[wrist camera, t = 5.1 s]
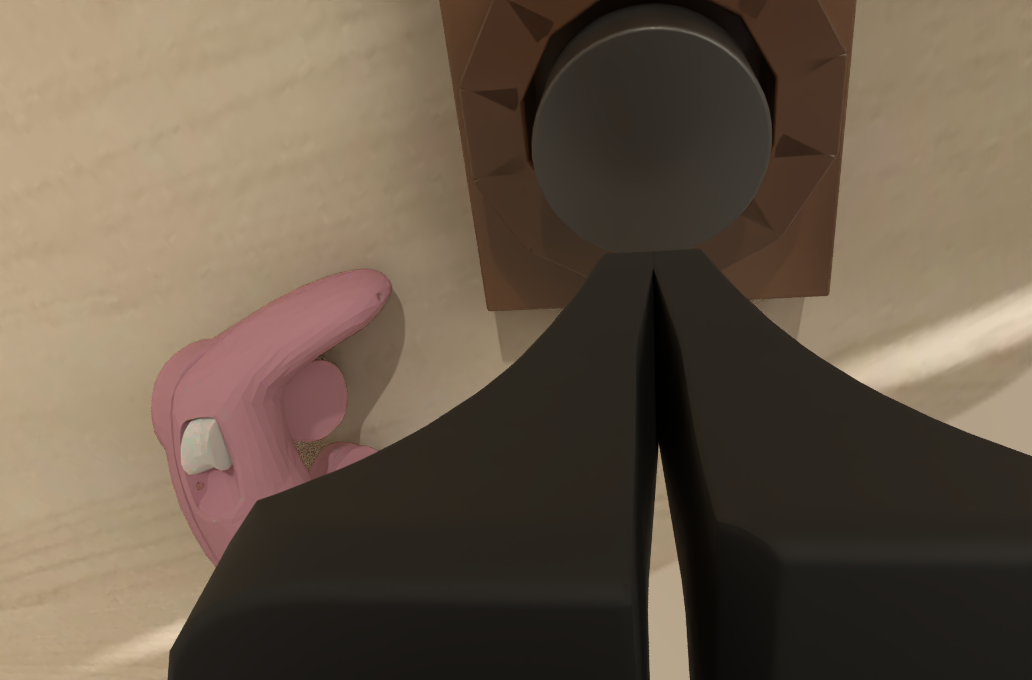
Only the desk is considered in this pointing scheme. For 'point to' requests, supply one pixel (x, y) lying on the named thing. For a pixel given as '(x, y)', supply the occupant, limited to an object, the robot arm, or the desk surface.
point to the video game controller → (260, 403)
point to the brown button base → (735, 251)
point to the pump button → (651, 130)
